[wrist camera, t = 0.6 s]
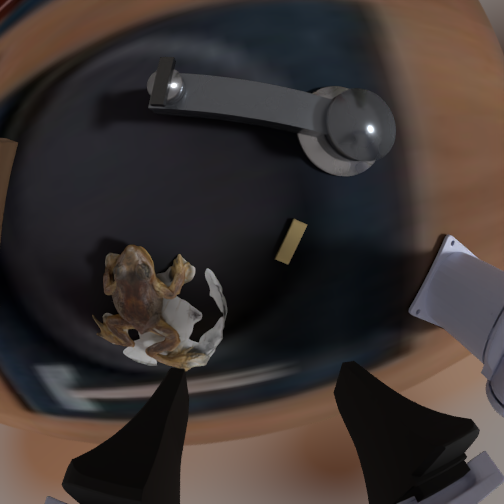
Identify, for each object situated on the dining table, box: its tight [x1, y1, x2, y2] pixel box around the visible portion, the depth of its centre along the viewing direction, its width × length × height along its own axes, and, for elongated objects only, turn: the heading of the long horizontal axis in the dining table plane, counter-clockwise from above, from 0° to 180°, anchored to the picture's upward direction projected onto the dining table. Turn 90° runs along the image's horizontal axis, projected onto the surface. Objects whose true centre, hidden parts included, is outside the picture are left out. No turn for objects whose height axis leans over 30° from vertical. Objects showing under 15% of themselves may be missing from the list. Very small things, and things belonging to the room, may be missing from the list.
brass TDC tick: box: [275, 218, 307, 264], centre depth 19 cm, size 1×3×1 cm, turn 156°
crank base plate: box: [297, 86, 375, 176], centre depth 17 cm, size 6×6×1 cm
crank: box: [147, 57, 396, 162], centre depth 14 cm, size 14×4×4 cm, turn 81°
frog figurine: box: [92, 245, 227, 371], centre depth 18 cm, size 12×12×4 cm
